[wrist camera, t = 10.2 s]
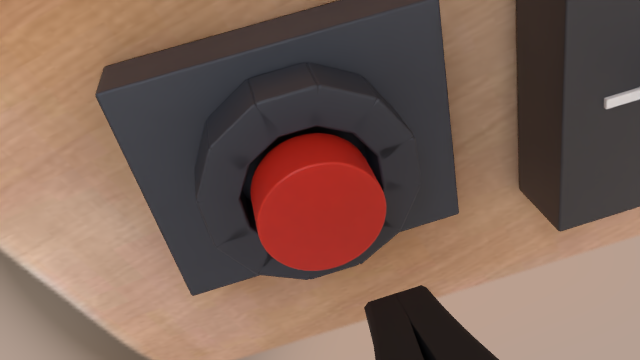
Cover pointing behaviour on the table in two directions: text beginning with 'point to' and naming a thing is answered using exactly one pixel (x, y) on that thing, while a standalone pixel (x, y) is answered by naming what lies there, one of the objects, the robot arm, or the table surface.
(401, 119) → the switch block
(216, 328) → the table surface
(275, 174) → the power button
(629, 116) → the panel
